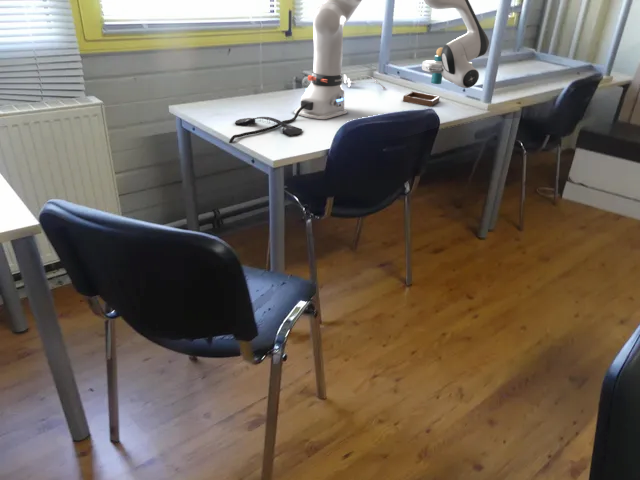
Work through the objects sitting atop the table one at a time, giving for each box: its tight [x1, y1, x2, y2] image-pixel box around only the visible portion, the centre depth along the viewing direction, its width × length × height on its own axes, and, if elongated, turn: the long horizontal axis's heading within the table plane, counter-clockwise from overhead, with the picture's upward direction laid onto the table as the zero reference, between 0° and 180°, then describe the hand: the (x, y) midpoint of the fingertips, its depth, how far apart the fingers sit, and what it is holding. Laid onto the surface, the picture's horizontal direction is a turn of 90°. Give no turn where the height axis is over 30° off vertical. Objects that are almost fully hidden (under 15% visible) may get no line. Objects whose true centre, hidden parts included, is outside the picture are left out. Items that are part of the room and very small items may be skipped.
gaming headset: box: [234, 116, 303, 137], centre depth 192 cm, size 9×25×3 cm, turn 67°
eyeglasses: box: [343, 74, 387, 90], centre depth 264 cm, size 15×18×4 cm
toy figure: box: [430, 47, 443, 85], centre depth 233 cm, size 4×4×14 cm
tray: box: [402, 91, 441, 107], centre depth 246 cm, size 11×13×2 cm
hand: (438, 63), depth 233 cm, fingers closed on toy figure, 4 cm apart
